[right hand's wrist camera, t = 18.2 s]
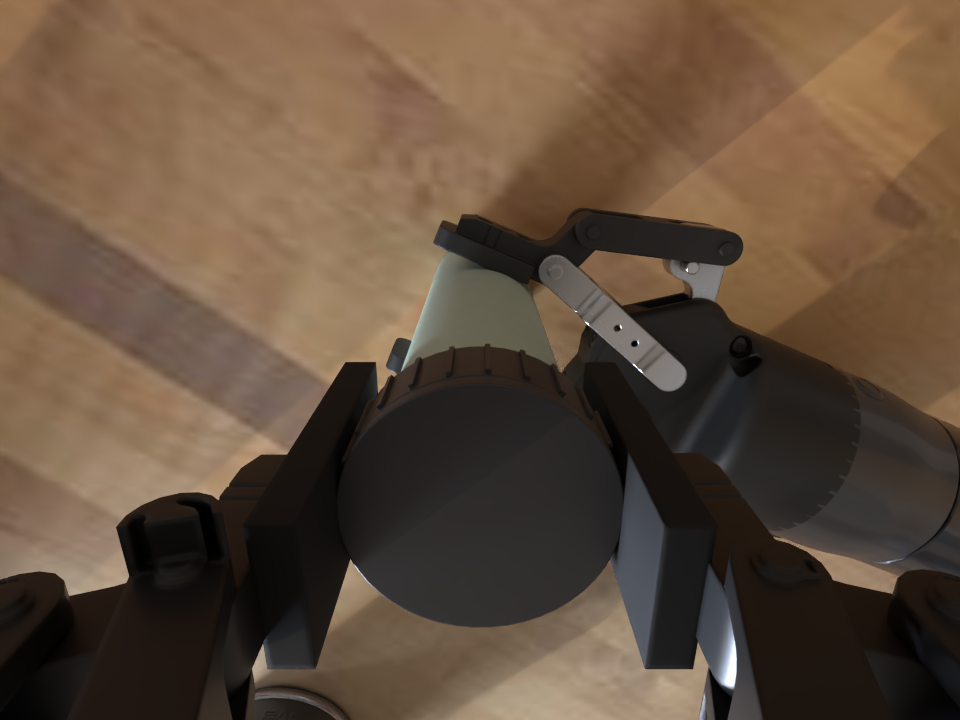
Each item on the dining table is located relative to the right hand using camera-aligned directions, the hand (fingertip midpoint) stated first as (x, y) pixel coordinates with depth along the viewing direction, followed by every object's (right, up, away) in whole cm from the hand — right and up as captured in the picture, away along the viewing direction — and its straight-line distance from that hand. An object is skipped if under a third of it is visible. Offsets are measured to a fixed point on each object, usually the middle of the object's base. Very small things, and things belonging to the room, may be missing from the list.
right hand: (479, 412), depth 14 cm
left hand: (-2, +4, +7) cm, 9 cm away
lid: (0, -1, -4) cm, 4 cm away
